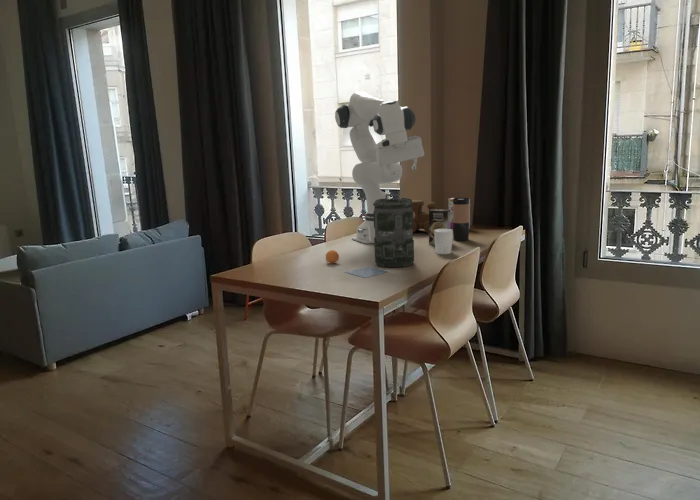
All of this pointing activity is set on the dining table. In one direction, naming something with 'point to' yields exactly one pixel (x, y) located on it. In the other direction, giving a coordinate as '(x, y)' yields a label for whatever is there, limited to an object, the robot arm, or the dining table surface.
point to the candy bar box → (450, 207)
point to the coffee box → (438, 222)
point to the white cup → (443, 241)
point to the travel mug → (460, 219)
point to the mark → (366, 272)
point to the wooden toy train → (421, 215)
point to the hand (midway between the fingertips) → (404, 172)
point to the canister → (393, 232)
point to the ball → (332, 256)
